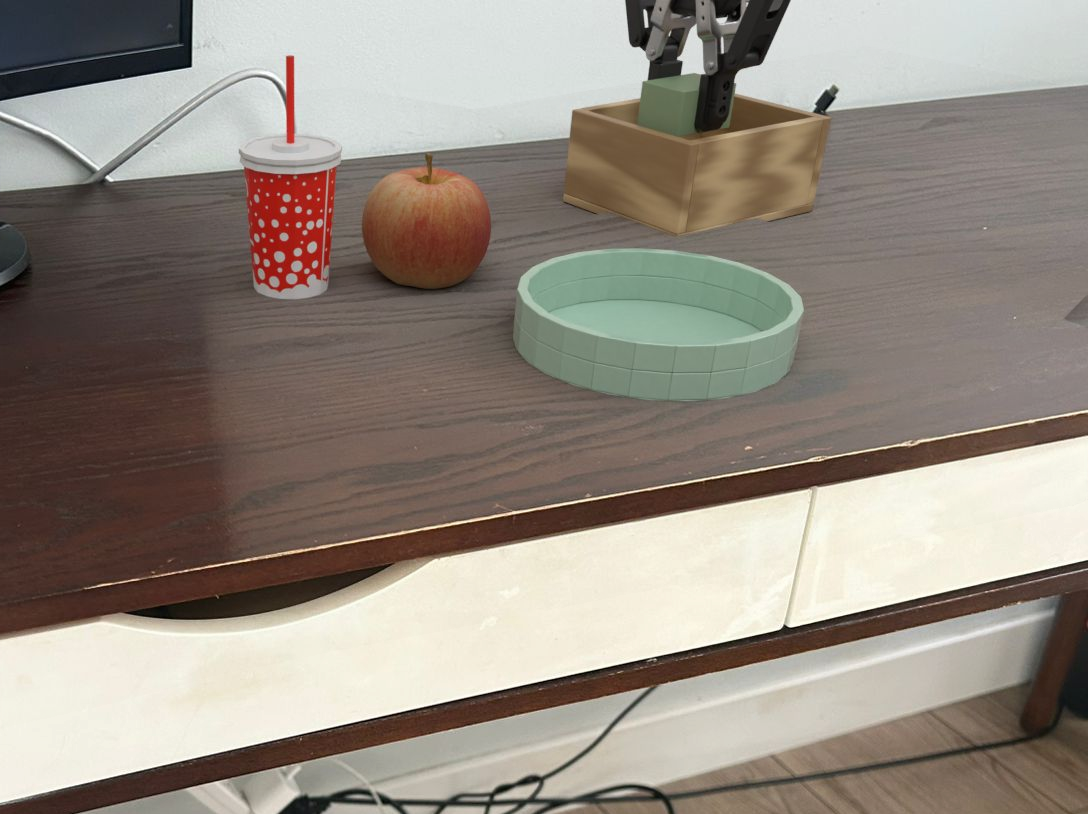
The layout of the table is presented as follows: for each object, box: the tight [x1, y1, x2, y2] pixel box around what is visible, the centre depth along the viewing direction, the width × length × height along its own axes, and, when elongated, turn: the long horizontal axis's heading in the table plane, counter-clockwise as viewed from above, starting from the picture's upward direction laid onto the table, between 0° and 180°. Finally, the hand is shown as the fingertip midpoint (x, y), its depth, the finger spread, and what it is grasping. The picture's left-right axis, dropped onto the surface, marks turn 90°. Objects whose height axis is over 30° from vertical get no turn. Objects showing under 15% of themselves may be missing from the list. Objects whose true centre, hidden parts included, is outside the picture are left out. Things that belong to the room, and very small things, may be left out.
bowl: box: [512, 247, 805, 402], centre depth 76 cm, size 15×15×4 cm
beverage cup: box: [238, 54, 343, 300], centre depth 82 cm, size 6×6×14 cm
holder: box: [562, 93, 832, 238], centre depth 98 cm, size 14×12×7 cm
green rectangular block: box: [637, 72, 737, 137], centre depth 95 cm, size 5×4×3 cm
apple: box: [361, 152, 492, 290], centre depth 84 cm, size 8×8×8 cm
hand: (683, 121), depth 96 cm, fingers closed on green rectangular block, 4 cm apart
